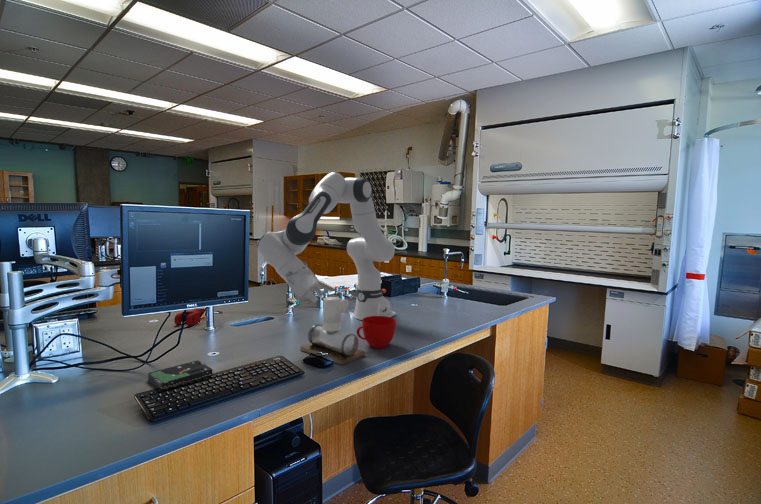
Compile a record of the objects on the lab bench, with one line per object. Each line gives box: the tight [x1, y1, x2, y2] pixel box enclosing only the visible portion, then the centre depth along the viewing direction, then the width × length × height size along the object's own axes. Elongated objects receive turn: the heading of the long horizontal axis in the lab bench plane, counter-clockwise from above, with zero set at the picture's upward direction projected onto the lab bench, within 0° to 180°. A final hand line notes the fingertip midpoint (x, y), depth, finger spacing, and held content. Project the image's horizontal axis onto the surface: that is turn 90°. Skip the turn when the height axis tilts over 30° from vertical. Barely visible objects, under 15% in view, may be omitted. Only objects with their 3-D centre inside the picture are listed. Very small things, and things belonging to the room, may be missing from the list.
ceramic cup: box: [356, 316, 397, 349], centre depth 152 cm, size 13×17×10 cm
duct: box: [300, 323, 366, 366], centre depth 143 cm, size 12×21×12 cm, turn 51°
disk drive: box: [147, 360, 213, 389], centre depth 119 cm, size 10×3×15 cm
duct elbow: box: [322, 296, 349, 331], centre depth 142 cm, size 6×9×11 cm
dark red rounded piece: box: [173, 308, 206, 327], centre depth 179 cm, size 16×7×5 cm, turn 173°
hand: (319, 298), depth 142 cm, fingers open, 8 cm apart
